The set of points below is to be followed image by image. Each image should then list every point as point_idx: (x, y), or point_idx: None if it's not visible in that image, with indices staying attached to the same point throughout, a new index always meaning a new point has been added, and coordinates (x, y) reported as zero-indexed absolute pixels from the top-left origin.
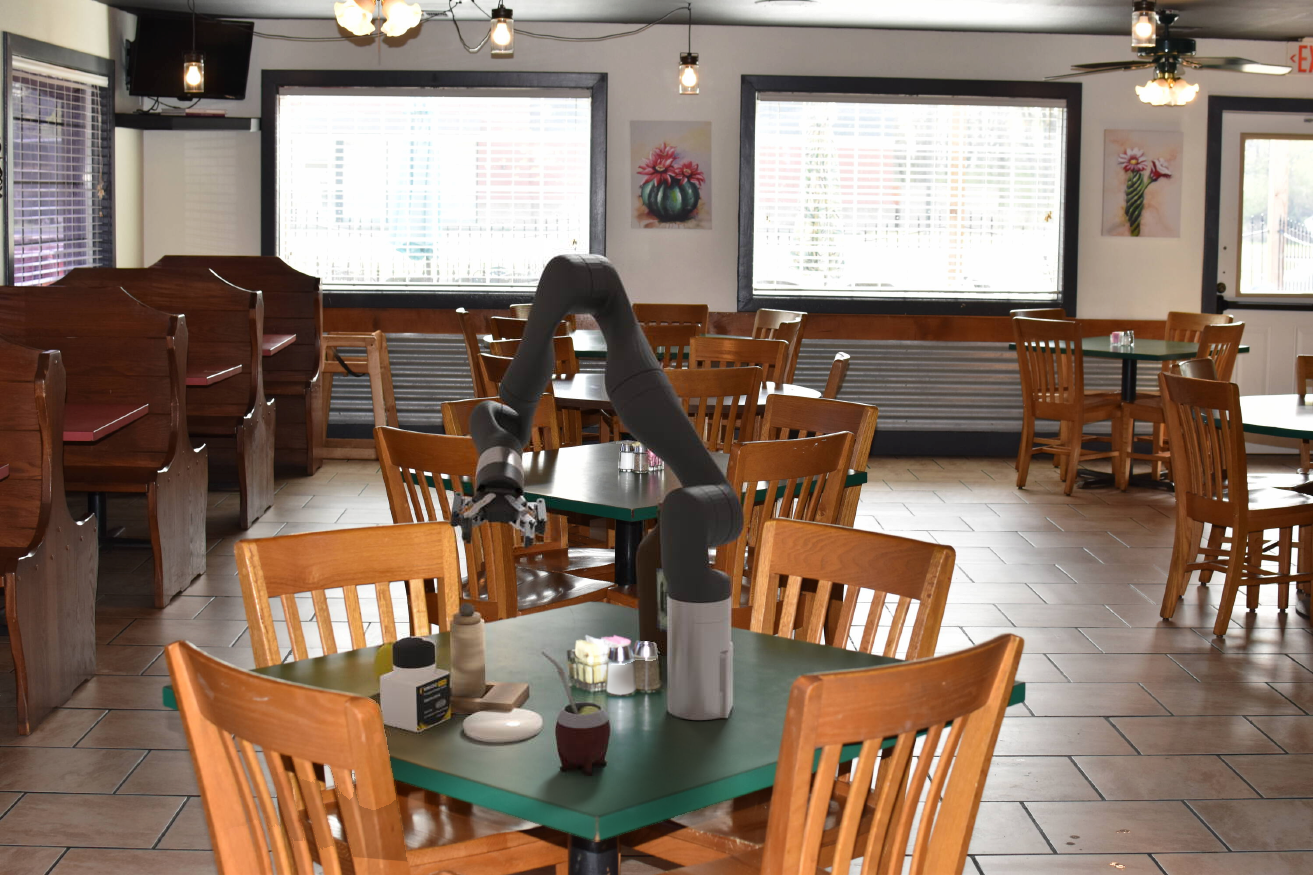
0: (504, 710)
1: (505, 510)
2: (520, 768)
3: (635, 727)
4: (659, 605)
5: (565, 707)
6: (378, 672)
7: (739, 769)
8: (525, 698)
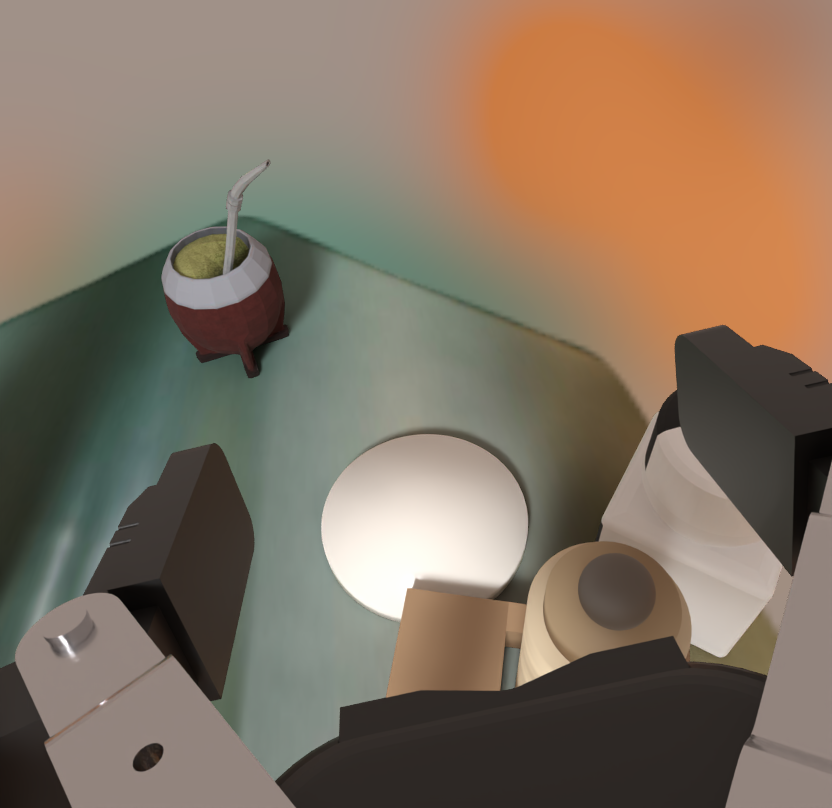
0: None
1: (410, 723)
2: (363, 337)
3: (90, 542)
4: None
5: (246, 259)
6: None
7: None
8: None
